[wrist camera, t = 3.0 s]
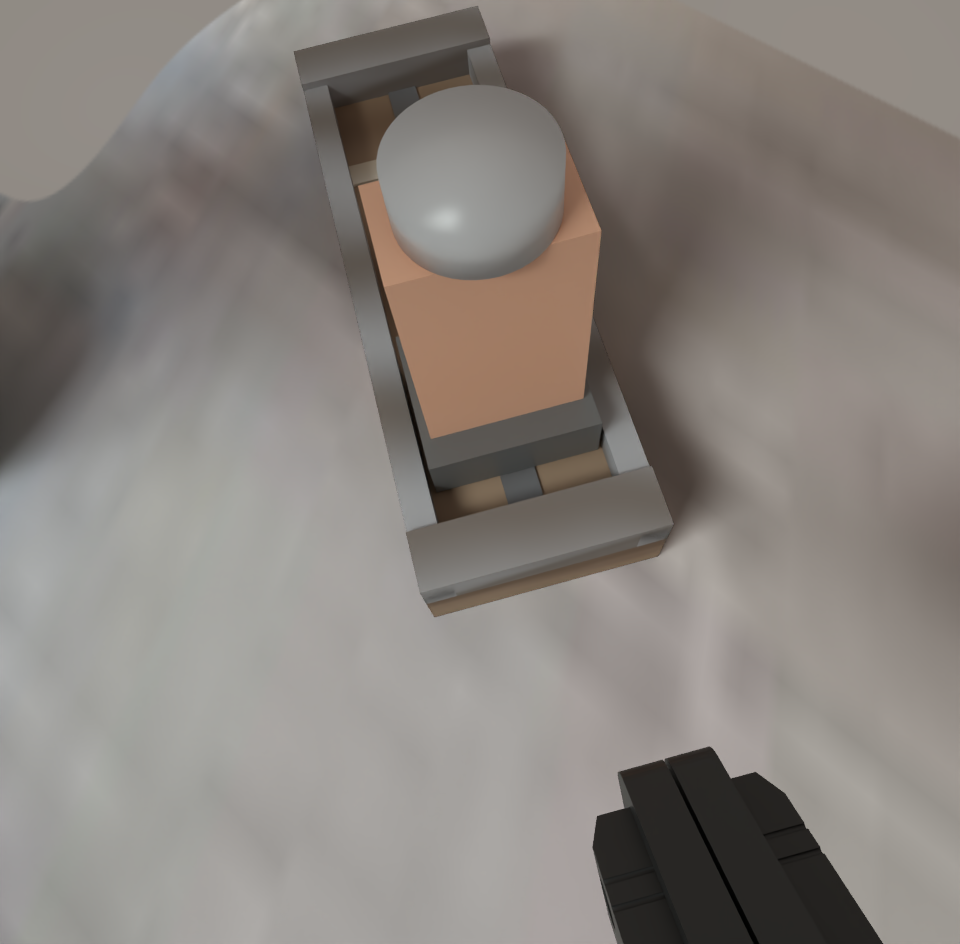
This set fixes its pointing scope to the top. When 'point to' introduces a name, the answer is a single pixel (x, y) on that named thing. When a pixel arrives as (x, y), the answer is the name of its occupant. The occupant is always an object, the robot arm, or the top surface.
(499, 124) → the slider tab
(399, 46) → the fader track
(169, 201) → the top surface
